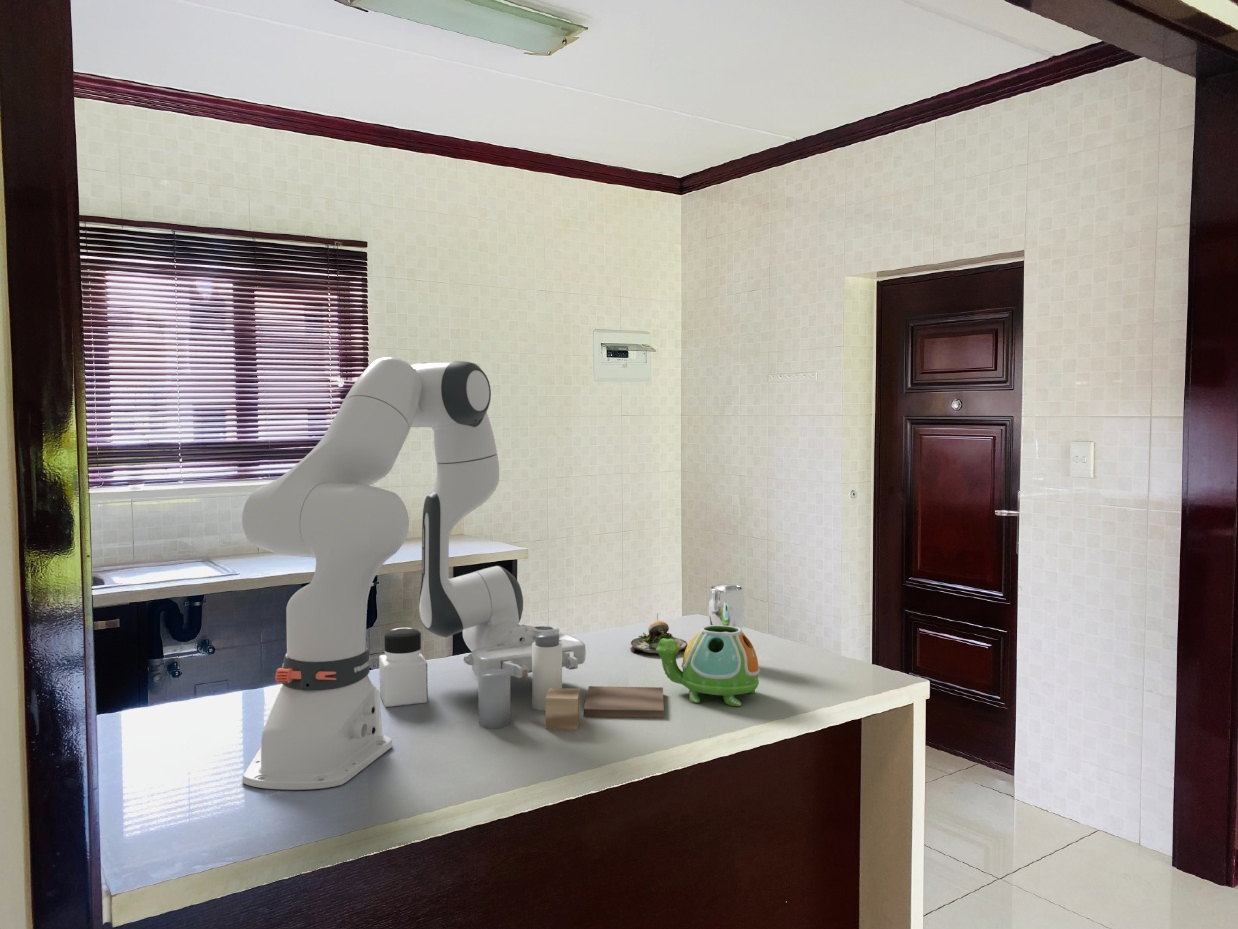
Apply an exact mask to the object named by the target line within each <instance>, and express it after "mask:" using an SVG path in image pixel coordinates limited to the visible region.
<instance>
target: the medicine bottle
mask: <svg viewBox="0 0 1238 929" xmlns="http://www.w3.org/2000/svg"><path fill="white" fill-rule="evenodd" d="M421 634H422V633H421V632H420V630H418V629H416V628H413V627H398V628H393V629H391V630H390V629H389V631H386V633H385V634H384V635H383V636H384V654H380V655H379V658H378V662H379V664H378V666H379V667H378V668H379V669H378V670H379V677H378V678H379V694H380V699H381V700H382V703H383V705H384V707H385V708H391V707H401V706H409V705H416V704H417V705H418V704H425V703H426V704H427V702H428V661H427V660H426V658H425V656H423V654H422V651H421V650H422V635H421Z"/></svg>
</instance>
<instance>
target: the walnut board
mask: <svg viewBox="0 0 1238 929" xmlns="http://www.w3.org/2000/svg"><path fill="white" fill-rule="evenodd" d="M587 688H588V689H587V693H586V697H585V701H584V706H583V714H582V715H583V717H593V718H594V717H598V718H599V717H602V718H603V717H604V718H605V717H606V718H649V719H650V718H654V719H655V718H658V719H660V718H661V719H663V718H664V715H665V714H664V712H665V710H664V687H658V686H657V687H653V686H601V685H600V686H598V685H596V686H594V685H593V686H592V685H591V686H588V687H587Z"/></svg>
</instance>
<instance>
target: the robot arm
mask: <svg viewBox="0 0 1238 929" xmlns="http://www.w3.org/2000/svg"><path fill="white" fill-rule="evenodd" d="M491 396H492V390H491V385H490V382H489V379H488V377H487V375H486V373H485V371H483V369H482V368H481V367H480V366H479V365H478V364H476V363H474V362H469V361H465V360H454V361H452V362H450V361H449V362H445V361H443V362H442V361H441V362H419V363H414V364H410V363H409V362H407V361H405V360H403V359H400V358H398V357H397V358H396V357H392V356H388V357H387V356H386V357H381V358H378V359H375V360H373V361H372V362H371V363H370V364H369V365H368V366H367V367H366V368H365V370H363V372H362V373H361V375H359V376H358V378H357V379H356V381H355V382H354V384H353V385H352V386H351V387H350V390H349V391H348V393H347V394H346V396H345V398H344V399H343V401H342V402H341V405H340V407H339V409H338V411H337V413H336V415H335V416H334V418H333V419H332V421H331V423H330V424H329V427H328V428H327V430H326V431H325V433H324V435H323V437H322V438H321V439H320V440H319V441H318V443H317V444H316V445H315V446H314V447H313V449H312V450H311V451H310V452H309V453H308V454H307V455H306V456H304V457H303V458H302V459H301V460H300V461H299V462H298V463H297V464H295V465H294V466H293V467H292V468H290V469H289V470H288V471H287V472H286V473H283V475H281V476H280V477H278V478H276V479H275V480H273V481H271V482H269V483H266V484H264V485H261V486H259V487H257V488H256V489H255V490H253V491H252V492H251V493H250V495H249V497H248V498H247V499H246V501H245V503H244V506H243V510H242V516H241V523H242V529H243V532H244V535H245V536H246V538H247V540H248V541H249V543H250V544H251V545H252V546H254V547H256V548H258V549H262V550H264V551H267V552H269V553H273V554H277V555H280V556H283V557H284V556H285V557H287V556H288V557H297V558H298V557H300V558H312V559H313V558H314V559H315V569H314V574H313V577H312V579H311V581H310V583H308V584H306V585H305V586H302V587H301V588H299V589H298V590H297V591H296V592H295V593H294V594H292V596H291V597H290V598H289V600H288V602H287V605H286V608H285V610H286V613H285V614H286V616H285V617H286V618H285V619H286V653H285V654H284V658H283V663H282V666H281V667H279V668H277V669H276V672H275V676H274V678H275V681H276V683H278V684H282V685H281V687H280V688H279V692H278V694H277V696H276V699H275V700H274V703H273V706H272V707H271V710H270V713H269V715H268V717H267V720H266V722H265V725H264V728H263V730H262V733H261V741H260V742H261V743H260V744H261V745H260V747H259V748H258V750H257V751H256V753H255V755H254V756H253V758H252V759H251V761H250V763H249V765H248V766H247V767H246V769H245V770H244V772H243V774H242V781H241V782H242V784H243V785H244V784H245V785H247V786H250V787H255V788H261V789H270V790H288V791H289V790H293V791H294V790H296V791H297V790H317V789H318V790H319V789H327V788H333V787H338V786H341V785H344V784H345V783H347V782H349V781H350V780H351V779H352V778H353V777H355V776H357V775H358V774H359V773H360V772H361V771H363V770H364V769H366V768H367V767H368V766H369V765H370V764H371V763H373V762H375V761H376V760H377V759H379V758H380V757H381V756H382V755H383V754H385V753H386V752H387V751H389V750H390V749H391V748H392V747H393V740H392V738H391V737H389V736H387V735H384V734H383V724H382V710H381V709H382V708H381V696H380V689H378V688H377V687H376V686H375V685H374V683H372V681H371V679H370V678H369V674H370V670H371V669H370V668H371V667H370V664H371V657H370V650H369V648H368V647H367V613H368V612H367V610H368V600H369V594H370V590H371V587H372V584H373V581H374V579H375V577H376V576H377V573H378V572H379V570H380V569H381V567H382V566H383V565H384V564H385V562H386V561H388V560H389V559H390V558H392V557H393V556H394V555H395V554H396V553H397V552H398V551H399V550H400V549H401V547H402V546H403V544H404V543H405V541H406V538H407V536H408V532H409V528H410V527H409V526H410V523H409V522H410V520H409V519H410V517H409V512H408V509H407V506H406V504H405V503H404V501H403V499H402V498H401V497H400V496H399V494H397V493H396V492H393V491H390V490H388V489H385V488H381V487H377V486H373V484H375V483H377V482H379V481H381V480H382V479H384V478H386V476H387V475H388V474H390V472H391V471H392V469H393V467H394V465H395V463H396V461H397V459H398V456H399V454H400V453H401V451H402V447H403V445H404V443H405V441H406V439H407V437H408V434H409V433H410V430H411V428H430V429H432V430H433V442H434V443H433V444H434V455H435V461H436V471H437V472H436V478H435V483H434V486H433V489H432V491H431V492H430V493H429V494H428V495H427V496H426V497H425V499H424V503H423V508H422V519H421V520H422V522H421V527H422V528H421V582H420V591H419V599H418V600H419V601H418V607H419V608H418V610H419V616H420V619H421V622H422V624H423V627H424V628H425V629H426V630H427V631H429V632H431V633H432V634H434V635H435V636H436V635H437V636H438V637H442V638H449V637H451V636H453V635H456V634H459V633H461V632H462V638H463V641H464V643H465V645H466V646H467V648H468V649H469V650H470V652H471V653H469V654H468V655H467V656H466V655H465V656H464V657H463V660H462V661H463V663H465V664H466V665H469V666H471V670H472V673H474V675H475V676H476V677H478V673H479V672H481V671H483V670H487V669H505V670H508V671H510V677H515V678H518V679H523V678H528V673H529V674H530V673H532V644H533V643H534V642H535V635H536V634H538V633H543V632H552V633H557V634H559V642H561V643H562V668H565V669H568V670H575V669H576V670H577V669H578V668H579V666H578V665H583V664H584V662H585V661H586V654H587V651H586V650H587V649H586V648H587V647H586V644H585V642H584V641H582V640H580V639H578V638H577V637H575V636H573V635H570V634H568V633H563V632H560V629H559V628H558V627H556V626H532V625H527V624H519V623H520V622H521V619H522V615H523V612H524V597H523V592H522V588H521V586H520V583H519V581H518V580H517V579H516V577H515V576H514V575H513V574H512V573H511V572H510V571H509V570H507V569H506V568H504V567H502V566H501V565H495V566H490V567H487V568H482V569H479V570H476V571H475V570H474V571H473V572H470V573H466V574H462V575H459V576H456V577H452V578H449V573H450V572H449V569H450V568H449V564H450V563H449V561H450V560H449V559H450V558H449V557H450V556H449V552H450V550H449V547H450V546H449V545H450V544H449V543H450V536H451V533H452V531H453V530H454V528H455V526H456V525H458V523H459V522H460V521H461V520H462V519H463V518H465V517H466V516H467V515H470V513H472V512H474V511H475V510H476V509H478V508H479V507H481V506H482V505H483V504H485V503H486V502H487V501H488V500H489V499H490V498H491V496H492V495H493V494H494V492H495V491H496V489H497V488H498V485H499V482H500V464H499V457H498V450H497V445H496V444H497V443H496V439H495V436H494V432H493V428H492V424H491V422H490V418H489V415H488V413H487V411H488V410H489V407H490V403H491Z"/></svg>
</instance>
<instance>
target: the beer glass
mask: <svg viewBox="0 0 1238 929" xmlns="http://www.w3.org/2000/svg"><path fill="white" fill-rule="evenodd" d="M744 593H745V592H744V587H743V586H741V585H736V584H729V583H726V584H725V583H724V584H721V583H720V584H713V585H710V587H709V594H708V596H709V597H708V621H709V625H724V626H733V627H738V628H741V629H743V624H744V619H745V595H744ZM723 633H729V632H723Z"/></svg>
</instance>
